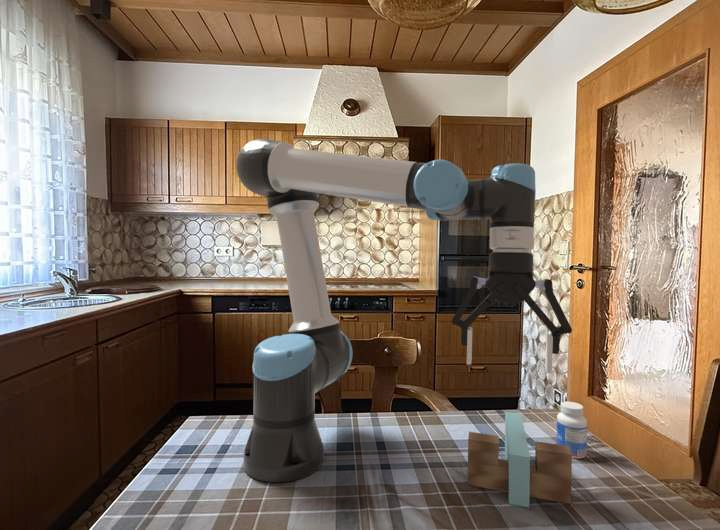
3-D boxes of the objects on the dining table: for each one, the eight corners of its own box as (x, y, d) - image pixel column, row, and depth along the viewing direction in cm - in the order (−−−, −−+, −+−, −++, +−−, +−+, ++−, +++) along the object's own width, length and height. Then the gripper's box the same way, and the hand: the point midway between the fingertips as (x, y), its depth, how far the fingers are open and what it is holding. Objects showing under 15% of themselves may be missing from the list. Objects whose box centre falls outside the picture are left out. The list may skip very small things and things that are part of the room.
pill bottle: (555, 443, 82) (556, 398, 82) (584, 449, 80) (585, 402, 79) (557, 455, 77) (558, 407, 77) (588, 461, 75) (589, 411, 74)
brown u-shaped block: (467, 484, 67) (468, 438, 67) (468, 475, 70) (469, 431, 69) (571, 504, 62) (571, 454, 61) (567, 493, 64) (568, 445, 64)
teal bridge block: (508, 503, 62) (509, 454, 62) (504, 450, 79) (505, 411, 79) (529, 507, 61) (530, 457, 61) (520, 453, 78) (521, 413, 78)
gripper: (439, 250, 71) (436, 364, 71) (594, 252, 63) (589, 381, 63) (444, 250, 78) (441, 355, 78) (583, 252, 70) (579, 369, 70)
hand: (507, 367), depth 71 cm, fingers open, 13 cm apart
